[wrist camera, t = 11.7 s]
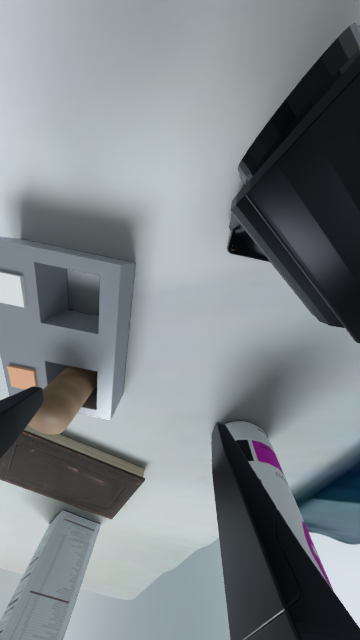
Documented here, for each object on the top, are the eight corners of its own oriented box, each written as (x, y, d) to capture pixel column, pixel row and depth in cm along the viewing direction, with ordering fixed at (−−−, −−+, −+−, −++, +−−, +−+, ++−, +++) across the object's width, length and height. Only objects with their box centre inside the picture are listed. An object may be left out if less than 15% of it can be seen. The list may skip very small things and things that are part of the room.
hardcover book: (20, 412, 28) (5, 425, 25) (147, 464, 30) (144, 480, 28) (5, 464, 33) (-8, 478, 31) (115, 504, 36) (110, 520, 34)
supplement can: (271, 420, 24) (382, 645, 10) (259, 457, 27) (332, 672, 13) (214, 415, 25) (245, 627, 11) (208, 452, 28) (226, 657, 13)
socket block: (135, 263, 18) (119, 265, 14) (122, 394, 24) (109, 422, 20) (20, 238, 18) (-31, 234, 13) (38, 377, 24) (8, 402, 20)
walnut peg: (108, 355, 22) (66, 406, 14) (106, 379, 23) (67, 438, 16) (77, 349, 22) (19, 397, 14) (78, 373, 23) (25, 429, 16)
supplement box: (48, 524, 39) (-46, 702, 24) (62, 508, 36) (-35, 700, 21) (86, 538, 41) (20, 715, 25) (102, 524, 38) (40, 714, 22)
